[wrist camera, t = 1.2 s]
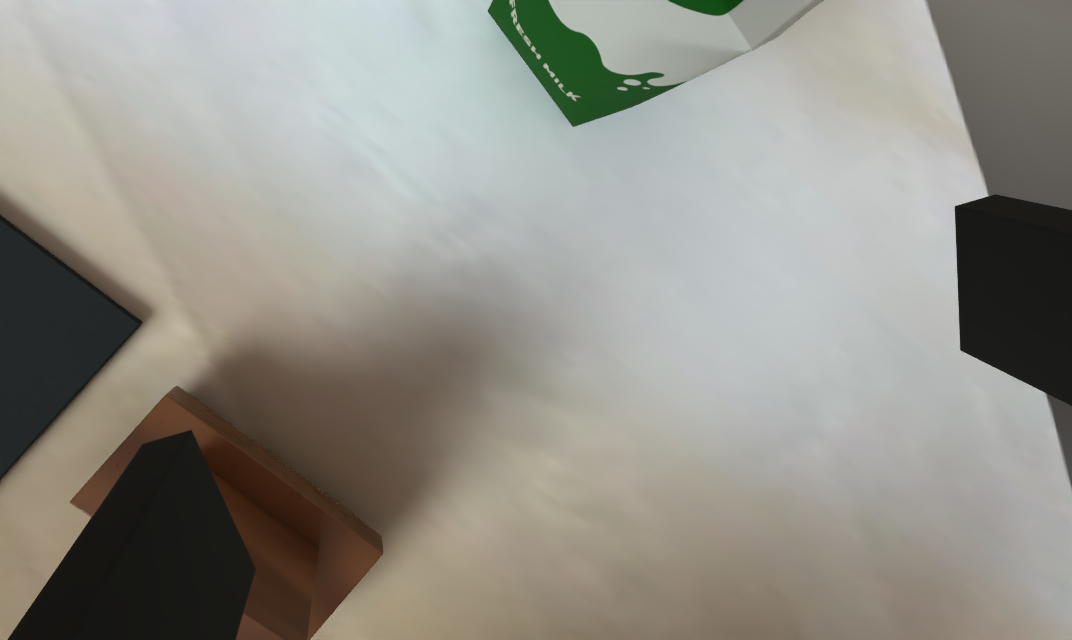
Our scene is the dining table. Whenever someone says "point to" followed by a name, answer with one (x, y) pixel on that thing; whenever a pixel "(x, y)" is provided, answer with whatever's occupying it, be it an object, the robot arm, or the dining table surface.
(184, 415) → the scrub brush
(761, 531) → the dining table surface
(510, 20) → the milk carton
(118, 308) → the mat
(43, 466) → the dining table surface
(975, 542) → the dining table surface
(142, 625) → the robot arm
